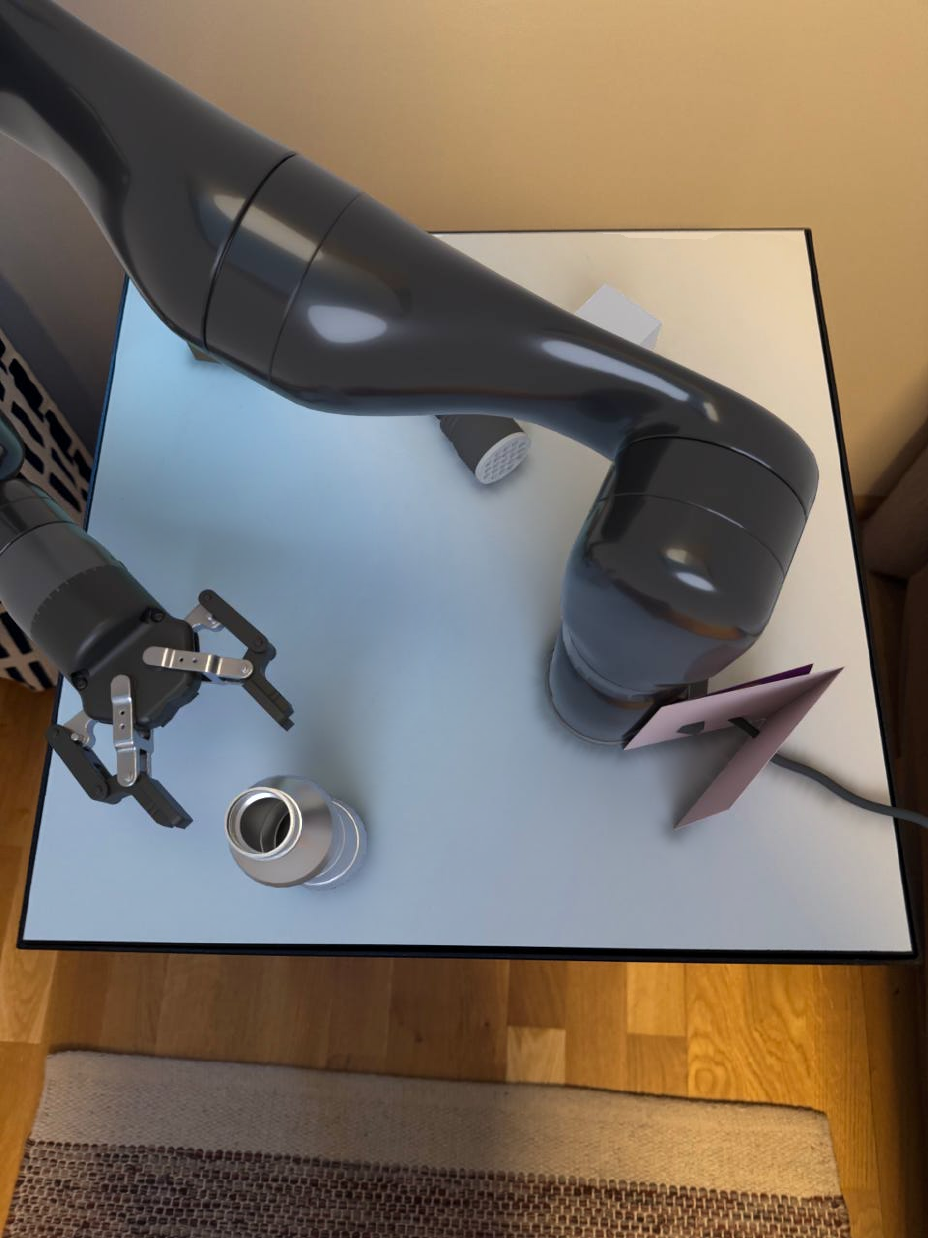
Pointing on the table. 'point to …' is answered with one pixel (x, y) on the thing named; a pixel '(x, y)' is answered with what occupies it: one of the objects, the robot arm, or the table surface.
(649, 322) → the white cube
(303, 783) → the silver metal bottle
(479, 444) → the flashlight
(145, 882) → the table surface
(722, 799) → the greeting card
